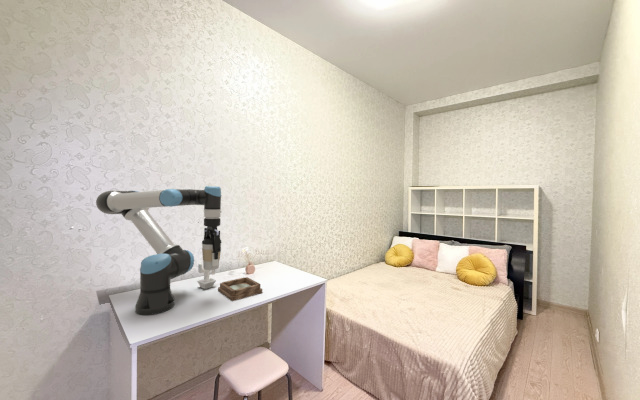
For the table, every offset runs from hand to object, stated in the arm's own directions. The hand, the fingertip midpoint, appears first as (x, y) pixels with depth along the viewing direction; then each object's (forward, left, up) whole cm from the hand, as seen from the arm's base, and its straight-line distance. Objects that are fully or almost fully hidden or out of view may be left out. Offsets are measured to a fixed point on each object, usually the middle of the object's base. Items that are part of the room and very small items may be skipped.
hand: (211, 263), depth 129 cm
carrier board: (+16, +1, -18) cm, 24 cm away
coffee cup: (0, 0, -2) cm, 2 cm away
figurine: (+5, +19, -18) cm, 27 cm away
